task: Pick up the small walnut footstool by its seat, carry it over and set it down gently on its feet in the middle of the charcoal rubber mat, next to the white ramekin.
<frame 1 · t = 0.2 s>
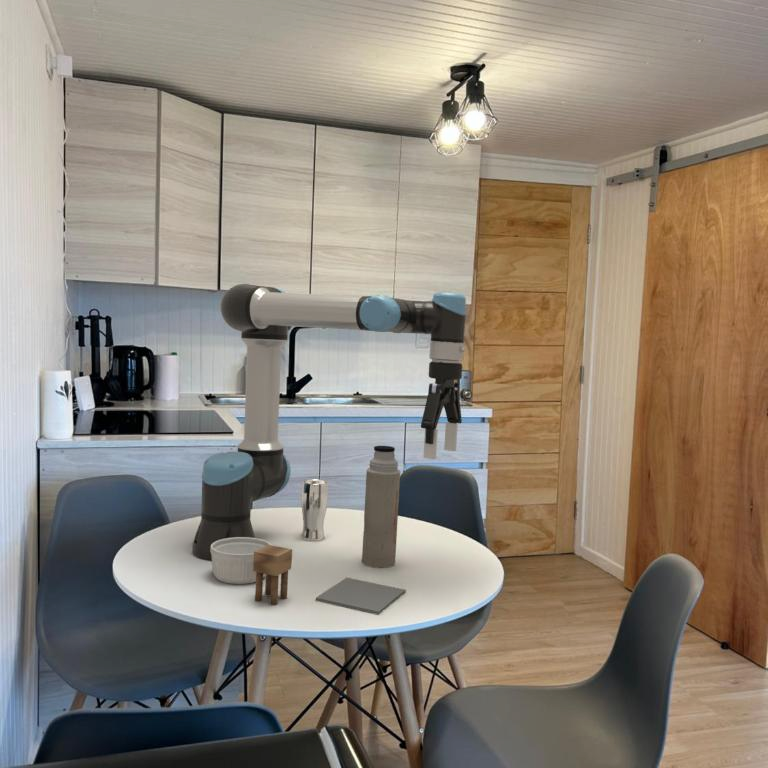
hand: (440, 454, 163), 28 cm above the table, tool pointing down, fingers open, 13 cm apart
ramekin: (240, 577, 157), on the table
stool: (271, 598, 144), on the table
thermos bottle: (378, 563, 171), on the table
silver cocktail shaker: (312, 538, 188), on the table
mat: (361, 596, 148), on the table
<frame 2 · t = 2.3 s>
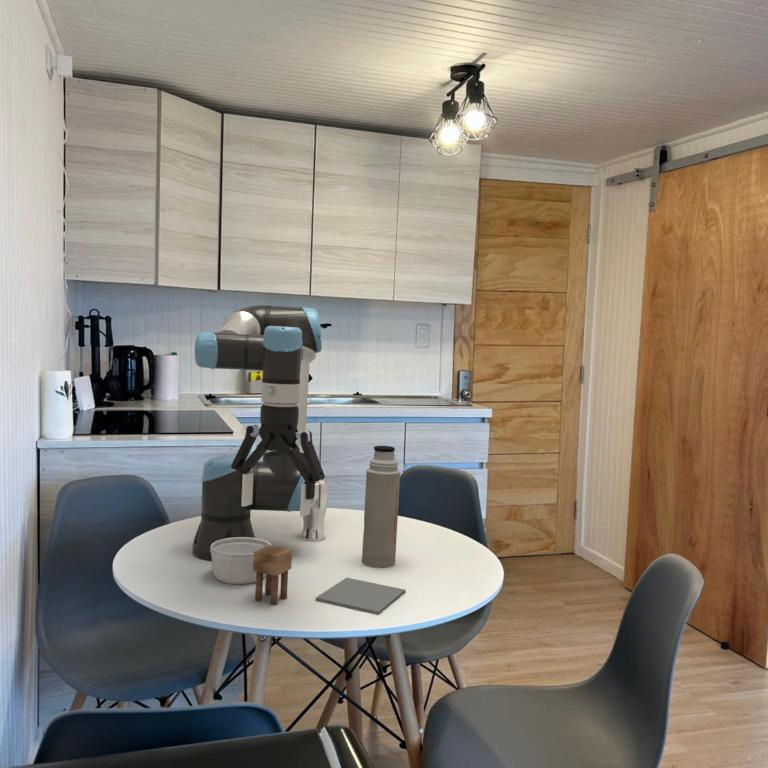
hand: (275, 510, 143), 18 cm above the table, tool pointing down, fingers open, 13 cm apart
nothing on the table moved.
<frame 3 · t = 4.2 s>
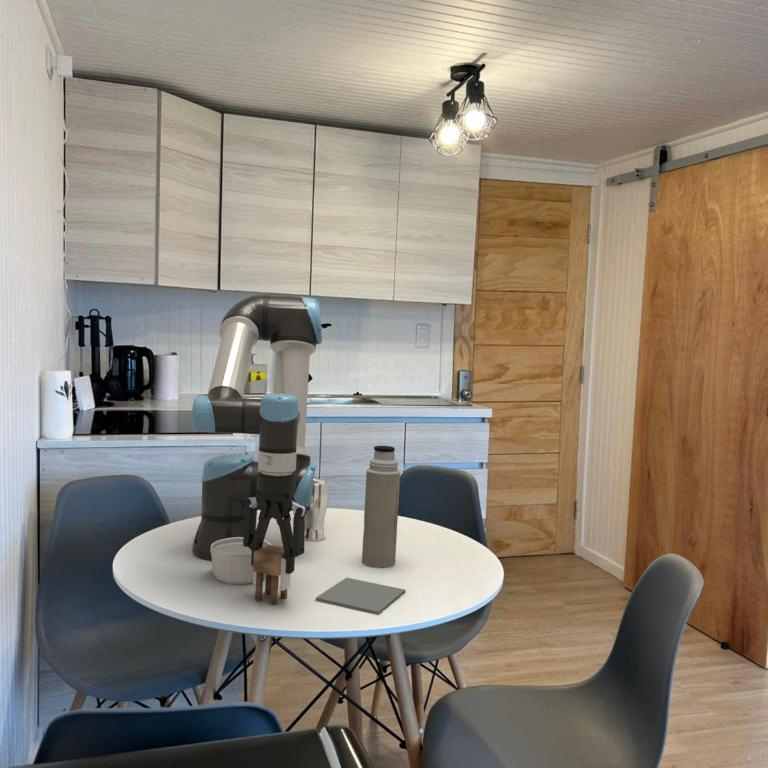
hand: (271, 585, 144), 3 cm above the table, tool pointing down, fingers closed on stool, 5 cm apart
stool: (271, 598, 144), on the table, touching gripper
everything else where it was.
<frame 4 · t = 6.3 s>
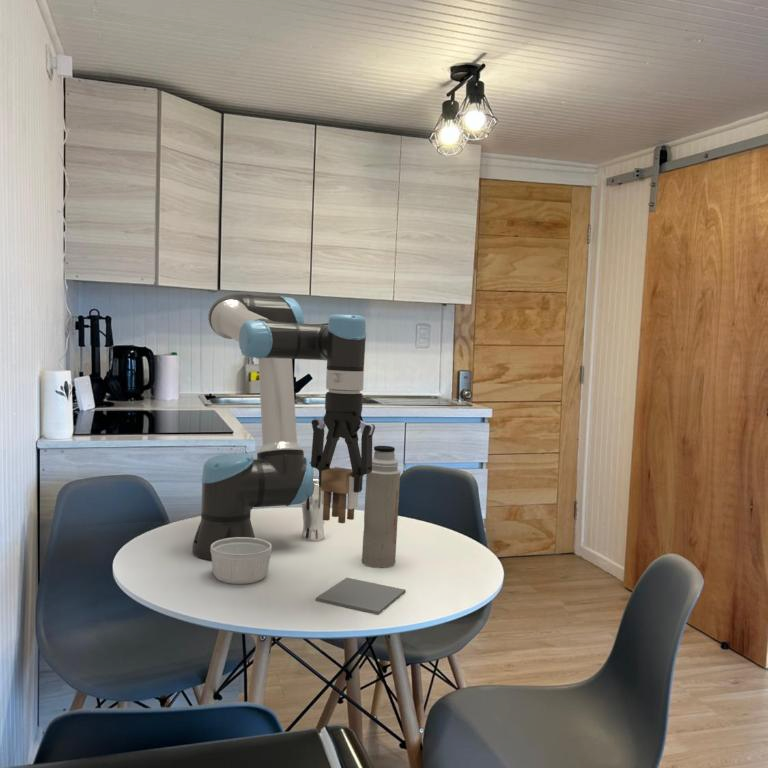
hand: (339, 505, 145), 19 cm above the table, tool pointing down, fingers closed on stool, 5 cm apart
stool: (338, 519, 145), point 17 cm above the table, touching gripper
everything else where it was.
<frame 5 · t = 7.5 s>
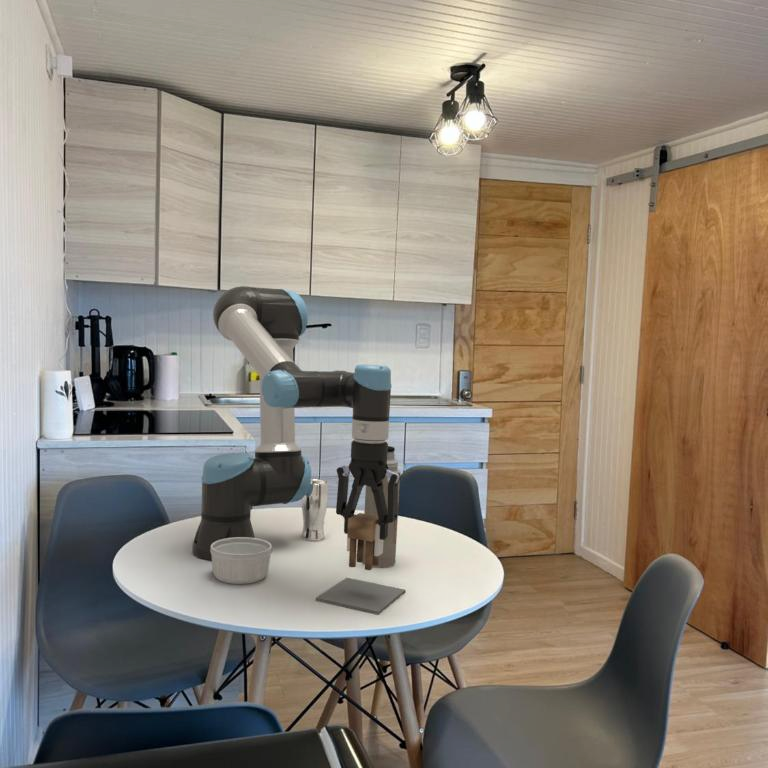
hand: (364, 551, 148), 10 cm above the table, tool pointing down, fingers closed on stool, 5 cm apart
stool: (363, 565, 148), point 7 cm above the table, touching gripper
everything else where it was.
when the fingers open (5 cm above the table, at t = 8.6 s): stool drops 1 cm, resting on mat.
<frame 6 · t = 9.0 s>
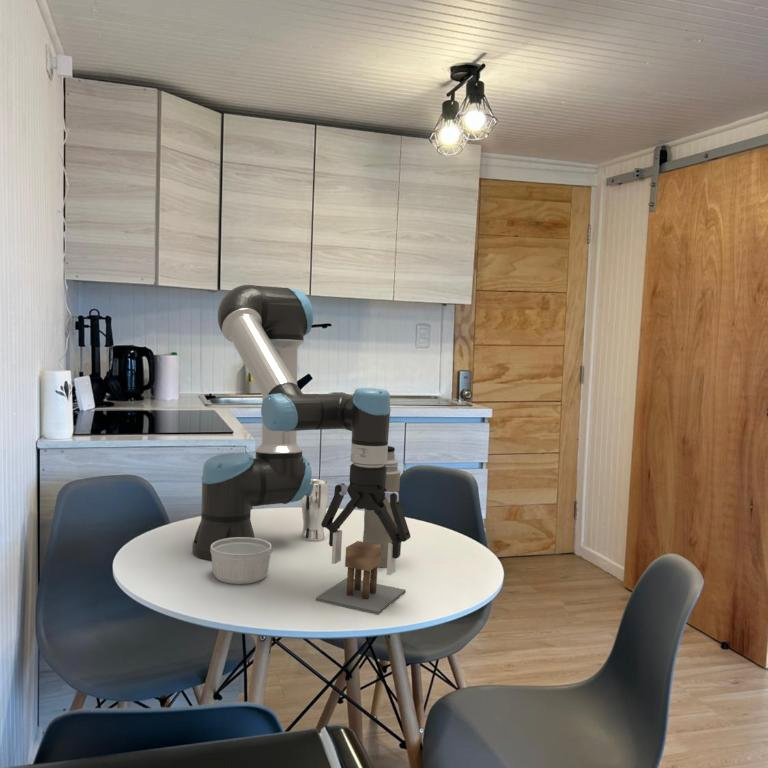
hand: (363, 567, 148), 6 cm above the table, tool pointing down, fingers open, 12 cm apart
stool: (361, 593, 148), point 1 cm above the table, touching mat
everything else where it was.
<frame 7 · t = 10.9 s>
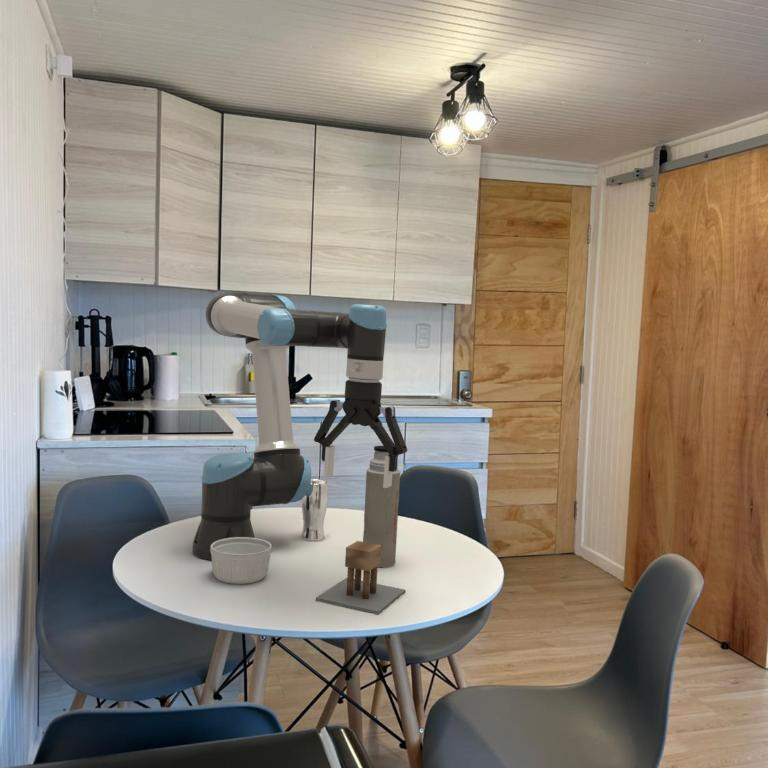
hand: (357, 481, 149), 24 cm above the table, tool pointing down, fingers open, 13 cm apart
nothing on the table moved.
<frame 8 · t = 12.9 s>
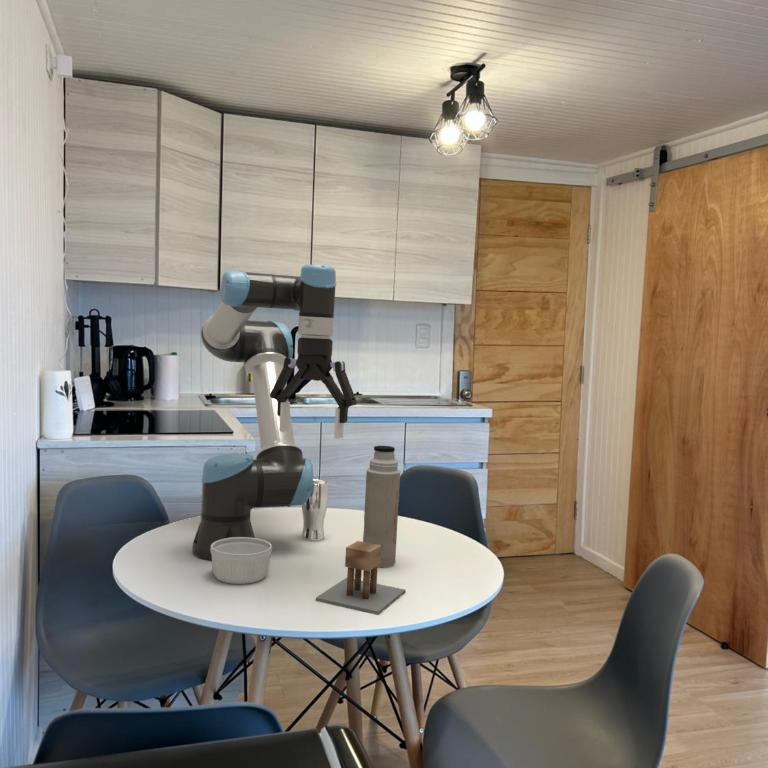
hand: (310, 434, 156), 32 cm above the table, tool pointing down, fingers open, 13 cm apart
nothing on the table moved.
at the end: stool inside the target area on the mat (0.1 cm from its centre), point 0.6 cm above the mat's base; stool tilted 0°; the gripper is holding nothing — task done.
